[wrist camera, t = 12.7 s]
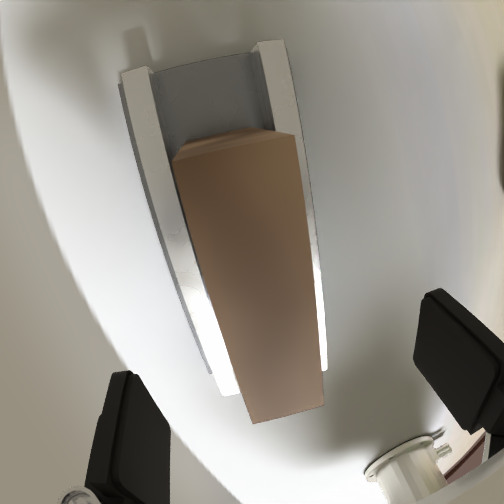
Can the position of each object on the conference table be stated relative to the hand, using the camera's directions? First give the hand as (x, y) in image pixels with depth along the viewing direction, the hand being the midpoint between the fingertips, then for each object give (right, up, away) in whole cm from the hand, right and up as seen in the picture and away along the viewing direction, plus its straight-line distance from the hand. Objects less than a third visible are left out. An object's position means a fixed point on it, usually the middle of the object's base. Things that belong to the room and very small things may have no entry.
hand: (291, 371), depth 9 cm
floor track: (-2, +5, +10) cm, 11 cm away
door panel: (-2, +4, +9) cm, 10 cm away
